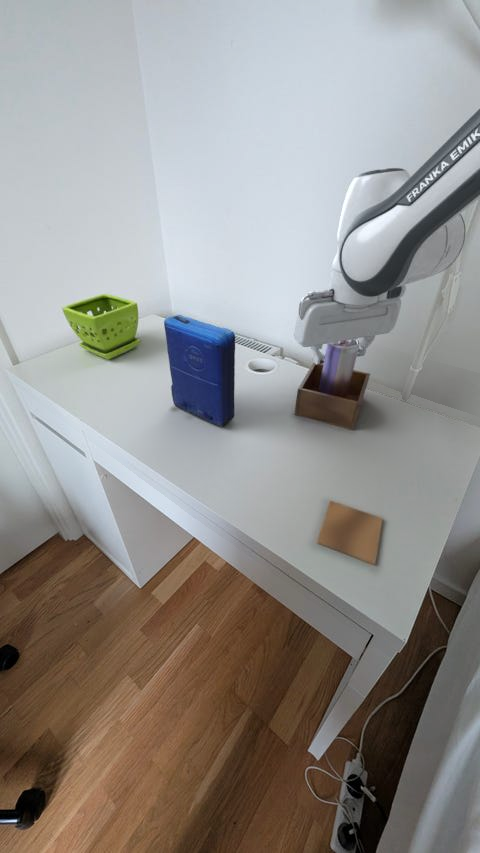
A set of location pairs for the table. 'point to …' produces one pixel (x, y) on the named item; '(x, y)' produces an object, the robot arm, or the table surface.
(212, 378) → the blue plastic case
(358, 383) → the wooden box
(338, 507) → the cork mat
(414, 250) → the robot arm
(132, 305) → the flower pot
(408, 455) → the table surface
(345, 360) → the beverage can
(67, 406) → the table surface
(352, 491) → the table surface
